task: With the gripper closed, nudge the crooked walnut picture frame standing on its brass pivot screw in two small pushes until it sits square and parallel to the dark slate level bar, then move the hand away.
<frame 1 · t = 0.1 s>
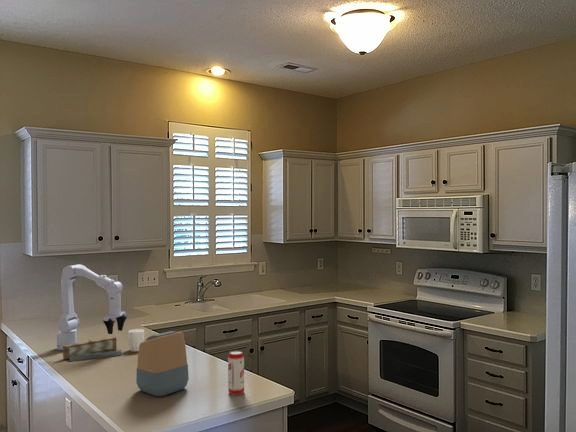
hand: (115, 332, 267), 10 cm above the countertop, tool pointing down, fingers open, 7 cm apart
picture frame: (90, 347, 263), point 4 cm above the countertop, hinge at 18.0°
beer can: (236, 393, 206), on the countertop
level bar: (95, 357, 257), on the countertop
two-tone smart speaker: (162, 390, 210), on the countertop
white cup: (136, 350, 270), on the countertop
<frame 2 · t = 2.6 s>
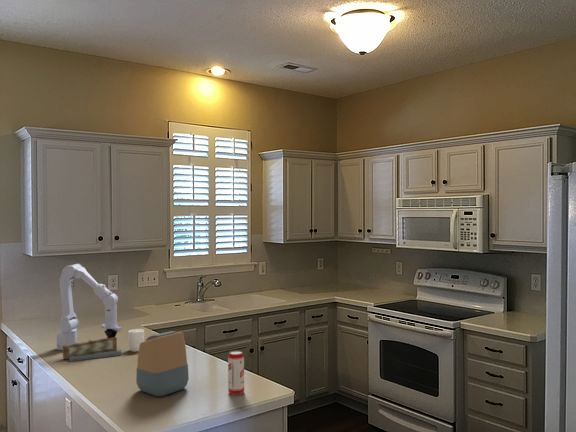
hand: (111, 343, 272), 3 cm above the countertop, tool pointing down, fingers closed
picture frame: (90, 347, 263), point 4 cm above the countertop, hinge at 16.3°, touching gripper
everything else where it was.
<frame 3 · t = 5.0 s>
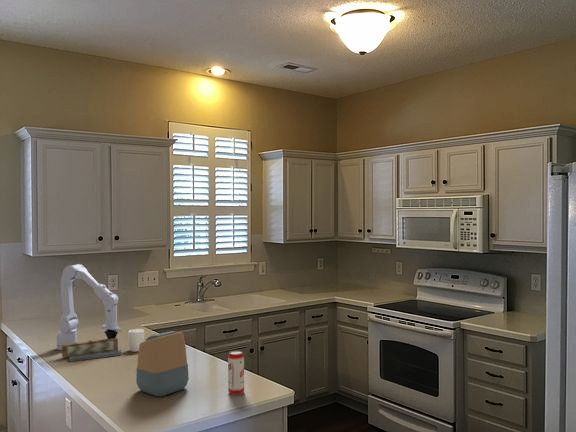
hand: (111, 344, 271), 3 cm above the countertop, tool pointing down, fingers closed
picture frame: (90, 347, 263), point 4 cm above the countertop, hinge at 5.0°, touching gripper
everything else where it was.
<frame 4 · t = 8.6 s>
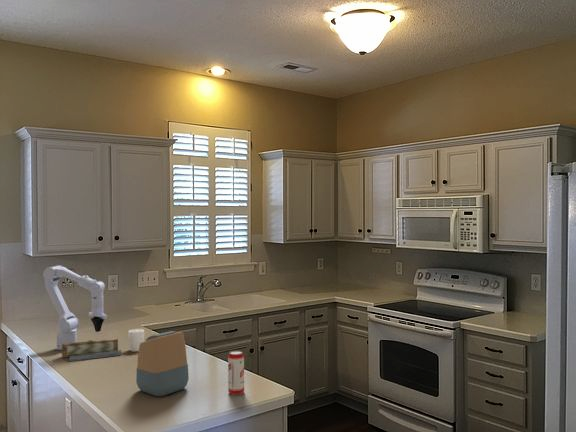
hand: (98, 331, 272), 9 cm above the countertop, tool pointing down, fingers closed
picture frame: (90, 347, 263), point 4 cm above the countertop, hinge at -1.1°
everything else where it was.
at the end: picture frame at -1° (first picture: +18°); white cup moved 0.2 cm from its start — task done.
